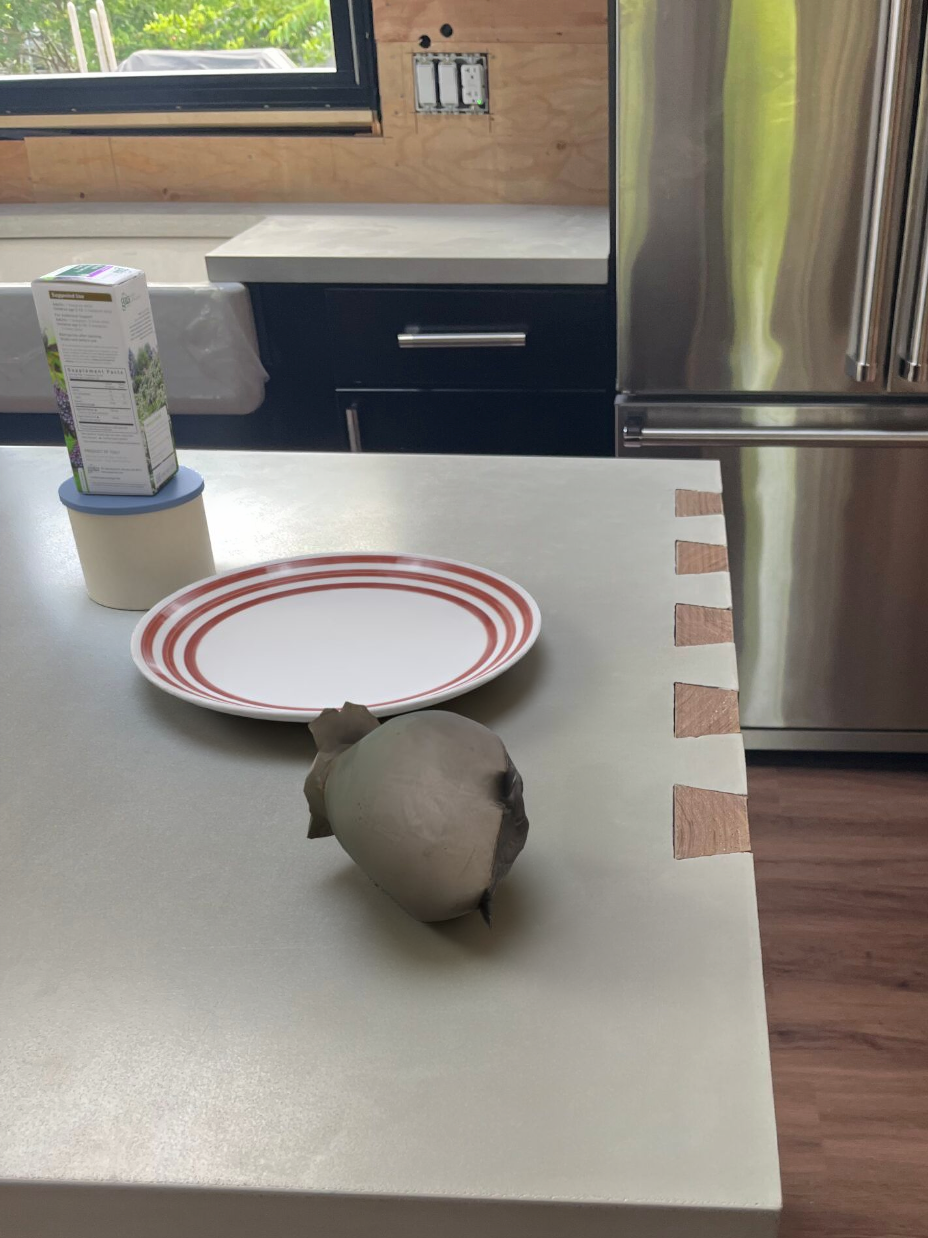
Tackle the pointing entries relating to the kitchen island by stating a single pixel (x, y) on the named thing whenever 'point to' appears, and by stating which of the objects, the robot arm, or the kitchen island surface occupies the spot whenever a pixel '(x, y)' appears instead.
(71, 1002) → the kitchen island surface
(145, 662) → the dinner plate
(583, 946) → the kitchen island surface
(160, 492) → the yogurt tub
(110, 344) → the syrup box
